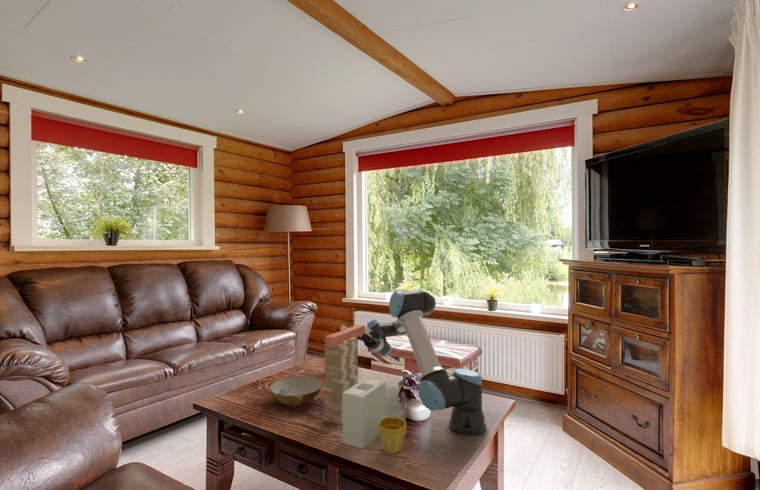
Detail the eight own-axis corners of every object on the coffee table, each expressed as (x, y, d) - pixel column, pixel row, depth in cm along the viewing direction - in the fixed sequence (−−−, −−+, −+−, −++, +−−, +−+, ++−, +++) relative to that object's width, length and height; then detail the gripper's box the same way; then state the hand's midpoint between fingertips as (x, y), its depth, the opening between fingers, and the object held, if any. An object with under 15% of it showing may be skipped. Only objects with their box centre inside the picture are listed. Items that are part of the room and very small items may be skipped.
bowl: (329, 406, 187) (329, 389, 187) (275, 417, 177) (275, 399, 176) (314, 388, 210) (314, 373, 210) (265, 396, 199) (265, 380, 199)
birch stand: (342, 407, 187) (342, 334, 186) (359, 411, 183) (359, 336, 182) (323, 420, 174) (322, 341, 173) (340, 424, 169) (340, 344, 169)
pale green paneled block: (366, 423, 170) (366, 377, 170) (385, 428, 166) (385, 381, 165) (342, 443, 154) (342, 392, 154) (362, 448, 150) (362, 396, 150)
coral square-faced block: (358, 332, 193) (357, 324, 193) (365, 333, 191) (365, 325, 191) (325, 345, 170) (325, 336, 170) (333, 347, 169) (333, 337, 168)
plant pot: (403, 458, 144) (402, 431, 144) (375, 453, 147) (375, 427, 147) (408, 443, 154) (408, 418, 154) (382, 440, 157) (382, 415, 156)
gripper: (393, 352, 195) (374, 339, 179) (351, 346, 207) (329, 333, 191) (397, 337, 198) (378, 323, 182) (354, 332, 210) (334, 318, 194)
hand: (353, 328), depth 186 cm, fingers open, 12 cm apart
